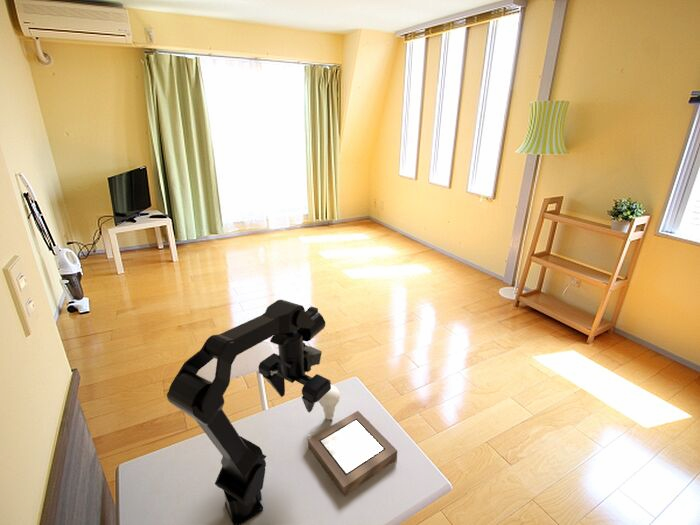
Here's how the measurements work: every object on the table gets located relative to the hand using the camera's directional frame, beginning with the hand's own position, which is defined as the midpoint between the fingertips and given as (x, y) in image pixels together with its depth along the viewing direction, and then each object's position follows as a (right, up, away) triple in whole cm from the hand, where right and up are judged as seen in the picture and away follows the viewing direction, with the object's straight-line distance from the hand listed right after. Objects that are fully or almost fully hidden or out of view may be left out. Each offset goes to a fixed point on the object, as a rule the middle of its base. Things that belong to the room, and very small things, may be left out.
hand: (296, 403), depth 90 cm
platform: (+14, -12, +1) cm, 19 cm away
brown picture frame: (+14, -13, +2) cm, 19 cm away
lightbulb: (+8, -9, +12) cm, 17 cm away
